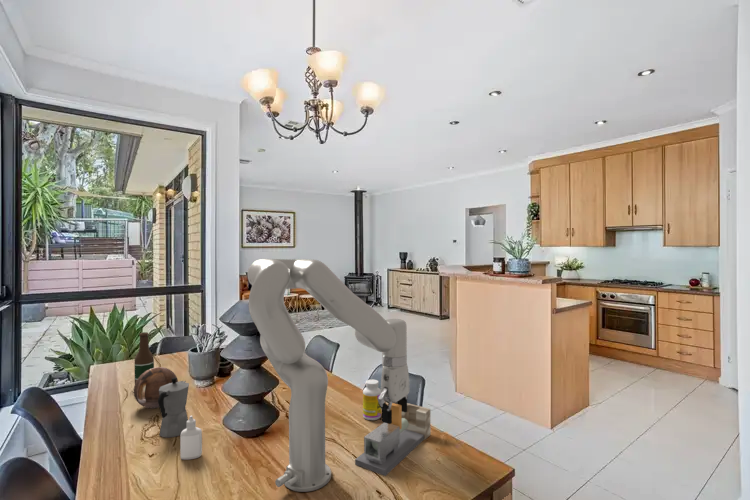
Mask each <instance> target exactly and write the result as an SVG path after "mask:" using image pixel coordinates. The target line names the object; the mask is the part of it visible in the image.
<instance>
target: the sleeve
mask: <svg viewBox="0 0 750 500" xmlns="http://www.w3.org/2000/svg"><path fill="white" fill-rule="evenodd" d="M372 442H374V443H377V444H378V451H377V450H375V449H374V448H373V446H372ZM399 444H400V426H397V425H393V424H388V423H384V422H382V423H381V424H380V425H379V426H378V427H376V428H375V429H373V430H372V431H370V432H369V433H367V434H366V435H365V436H364V437H363V453H364V455H365V456H366V459H367V460H370V461H373V462H375V463H378V464H383V463H384V462H385V461H386V455H387V454H388V453H389V452H392V453H395V452H396V451H397V450H398V445H399Z"/></svg>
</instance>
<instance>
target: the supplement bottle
mask: <svg viewBox="0 0 750 500" xmlns="http://www.w3.org/2000/svg"><path fill="white" fill-rule="evenodd" d="M379 385H380V384H379V380H377V379H368V380H366V381H365V387H364V388H363V390H362V416H363V418H364V419H365V420H368V421H377V420H379V419H380V418H382V409H381V407H380V406H379V402H378V398H379V396H380V394H381V387H379Z"/></svg>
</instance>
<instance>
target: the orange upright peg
mask: <svg viewBox="0 0 750 500" xmlns="http://www.w3.org/2000/svg"><path fill="white" fill-rule="evenodd" d="M390 410H392V423H391V424H393V425H397V426H400V433H401V432H403V431H404V430H405V429H406V428H407V427H408V426H409V423H408V421H407V420H406V419H405V418H402V405H399V404H398V403H394V402H392V406H391V409H390ZM372 446H373V448H374V449H375V450H377V451H378V444H377V443H374V442H372Z"/></svg>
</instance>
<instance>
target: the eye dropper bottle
mask: <svg viewBox="0 0 750 500" xmlns="http://www.w3.org/2000/svg"><path fill="white" fill-rule="evenodd" d="M196 422H197V421H196V419H195V418H194V417H193V415H189V418H188V421H187V428H186V429H184V430H183V431H182V432H181V435H180V437H179V439H180V440H179V441H180V446H179V449H180V451H179V452H180V455H179V457H180V460H185V461H186V460H188V461H189V460H193V459H198V458H200V457H201V456H202V455H203V433H202V432H203V430H202V428H200V427H197V426H196V425H197V424H196Z"/></svg>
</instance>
